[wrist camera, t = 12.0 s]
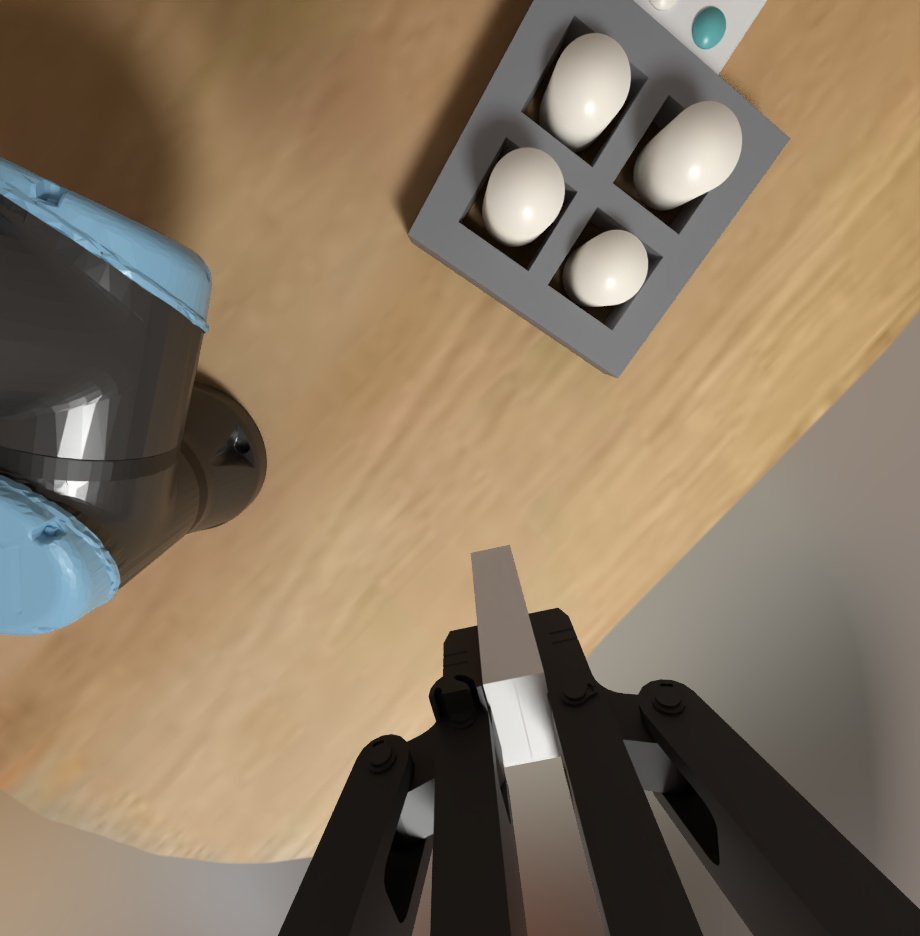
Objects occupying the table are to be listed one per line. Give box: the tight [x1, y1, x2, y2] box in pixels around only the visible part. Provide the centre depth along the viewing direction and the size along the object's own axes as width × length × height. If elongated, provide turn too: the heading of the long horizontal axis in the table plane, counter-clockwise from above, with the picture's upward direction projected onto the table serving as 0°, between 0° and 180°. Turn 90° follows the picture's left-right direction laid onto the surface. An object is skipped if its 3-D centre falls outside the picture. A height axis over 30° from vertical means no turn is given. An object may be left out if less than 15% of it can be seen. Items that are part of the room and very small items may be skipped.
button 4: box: [633, 101, 742, 211], centre depth 35 cm, size 6×6×6 cm
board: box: [408, 0, 790, 378], centre depth 39 cm, size 22×22×4 cm
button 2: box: [539, 33, 631, 153], centre depth 36 cm, size 6×6×6 cm
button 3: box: [563, 230, 648, 307], centre depth 39 cm, size 6×6×6 cm
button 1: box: [482, 147, 565, 247], centre depth 36 cm, size 6×6×6 cm
